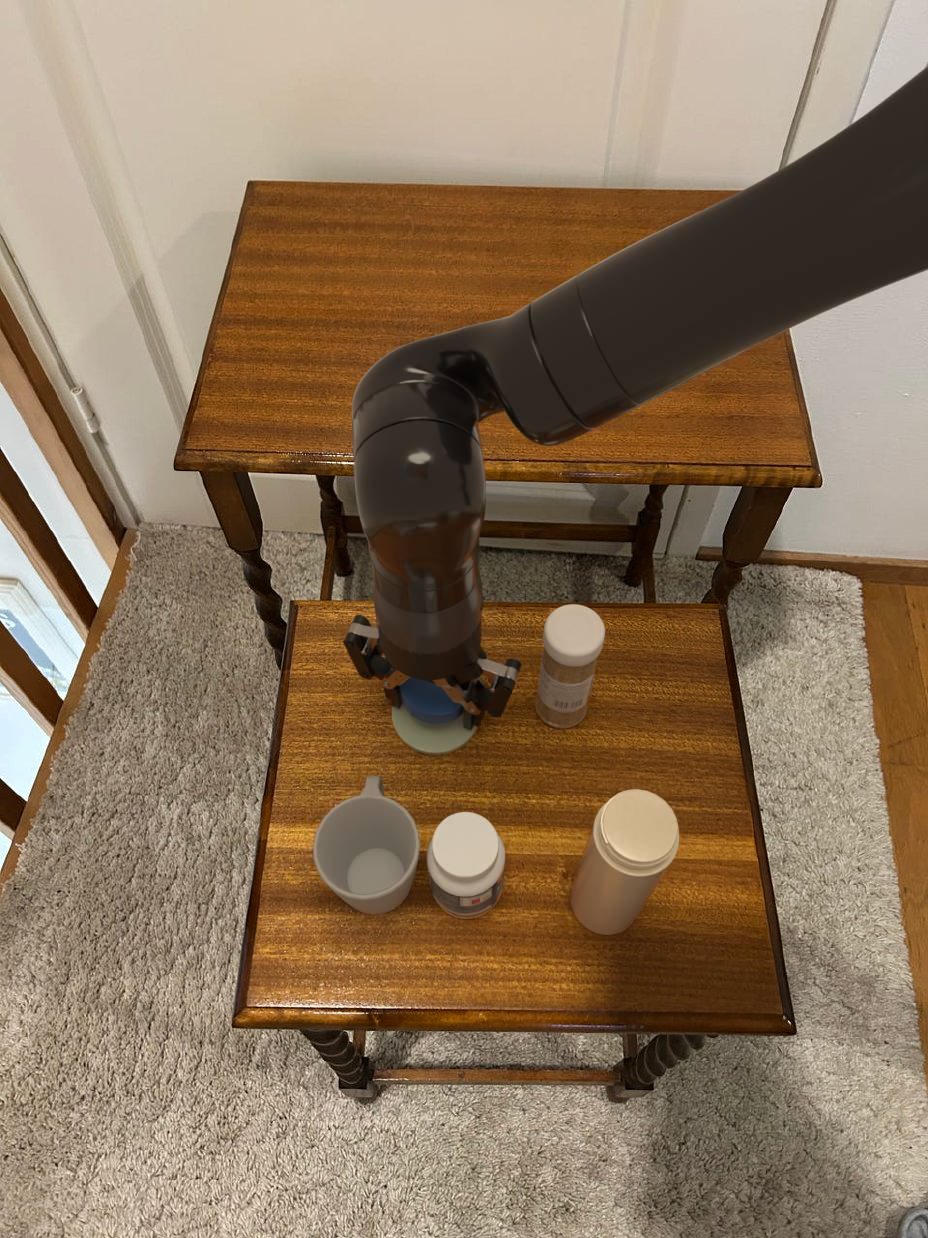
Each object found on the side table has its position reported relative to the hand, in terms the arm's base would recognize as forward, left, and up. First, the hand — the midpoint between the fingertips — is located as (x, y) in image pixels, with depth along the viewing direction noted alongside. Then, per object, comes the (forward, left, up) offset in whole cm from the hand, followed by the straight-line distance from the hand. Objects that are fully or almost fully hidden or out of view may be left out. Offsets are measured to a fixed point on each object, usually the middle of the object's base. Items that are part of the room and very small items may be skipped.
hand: (435, 708), depth 80 cm
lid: (0, -1, +3) cm, 3 cm away
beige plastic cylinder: (-18, +11, -1) cm, 21 cm away
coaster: (0, 0, -1) cm, 1 cm away
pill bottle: (-7, +13, -1) cm, 15 cm away
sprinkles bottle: (-10, -4, -1) cm, 11 cm away
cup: (0, +14, -1) cm, 14 cm away
